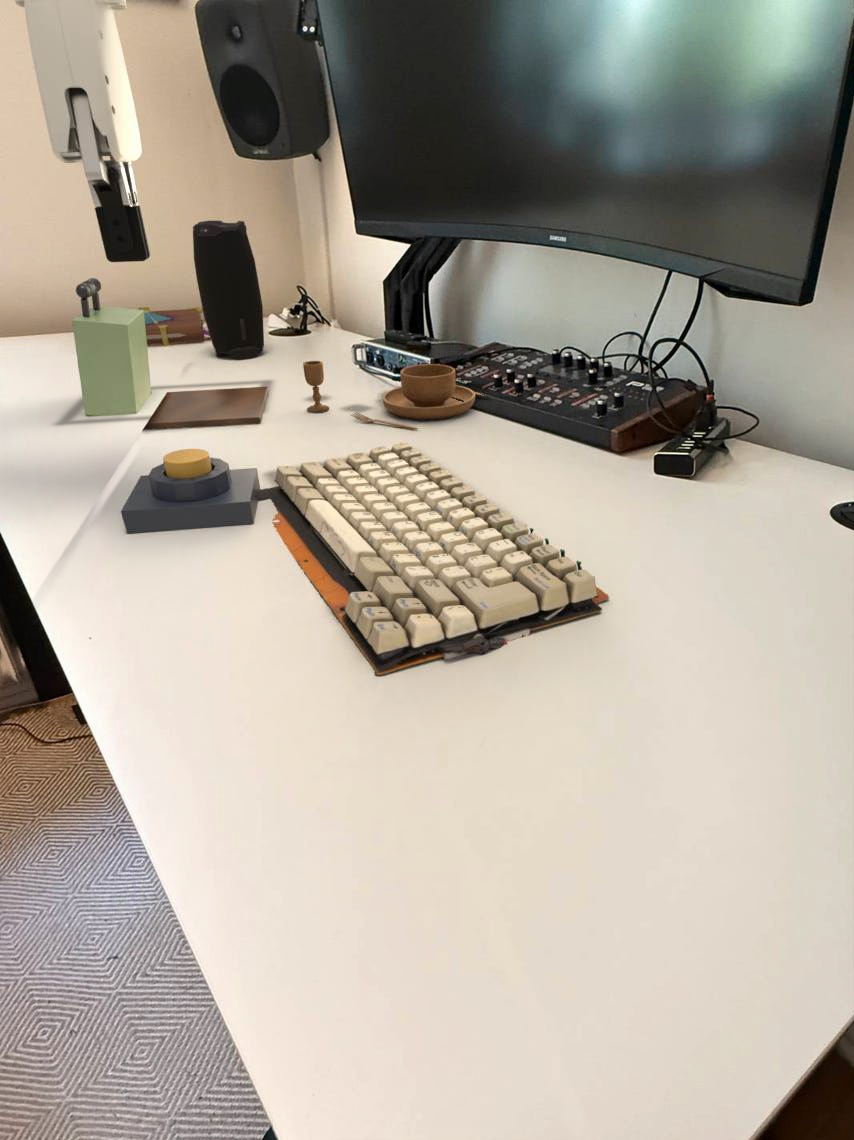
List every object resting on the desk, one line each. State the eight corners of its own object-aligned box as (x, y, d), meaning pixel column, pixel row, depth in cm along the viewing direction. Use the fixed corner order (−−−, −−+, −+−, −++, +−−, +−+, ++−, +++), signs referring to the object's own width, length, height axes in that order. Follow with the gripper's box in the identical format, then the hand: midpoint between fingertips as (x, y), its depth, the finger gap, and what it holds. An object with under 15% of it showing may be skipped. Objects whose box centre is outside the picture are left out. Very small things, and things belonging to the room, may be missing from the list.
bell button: (163, 483, 72) (159, 464, 71) (170, 468, 75) (166, 449, 74) (209, 480, 72) (205, 461, 71) (214, 465, 75) (211, 447, 74)
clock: (82, 415, 97) (64, 285, 90) (101, 393, 106) (86, 274, 98) (137, 418, 99) (123, 291, 91) (152, 397, 107) (140, 279, 100)
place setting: (430, 434, 94) (427, 383, 91) (300, 412, 103) (293, 364, 100) (501, 398, 107) (501, 352, 104) (380, 381, 116) (376, 339, 113)
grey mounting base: (126, 534, 71) (115, 491, 69) (146, 496, 78) (136, 457, 76) (253, 524, 72) (246, 482, 70) (260, 488, 80) (253, 449, 78)
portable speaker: (215, 350, 135) (191, 220, 125) (271, 348, 136) (252, 218, 126) (207, 361, 128) (182, 224, 118) (267, 359, 129) (246, 222, 119)
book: (231, 346, 142) (226, 316, 139) (82, 357, 136) (73, 326, 133) (227, 324, 155) (223, 296, 152) (91, 333, 149) (83, 305, 146)
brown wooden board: (65, 435, 96) (63, 428, 96) (95, 401, 109) (93, 395, 108) (260, 423, 99) (259, 416, 99) (268, 392, 112) (267, 386, 111)
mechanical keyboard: (243, 496, 79) (237, 463, 78) (418, 464, 87) (417, 434, 85) (384, 690, 51) (380, 646, 49) (627, 619, 58) (631, 578, 57)
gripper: (43, -3, 63) (103, 252, 73) (-27, -40, 51) (57, 274, 61) (141, -2, 64) (188, 249, 74) (96, -39, 52) (160, 270, 62)
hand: (129, 259), depth 67 cm, fingers closed
